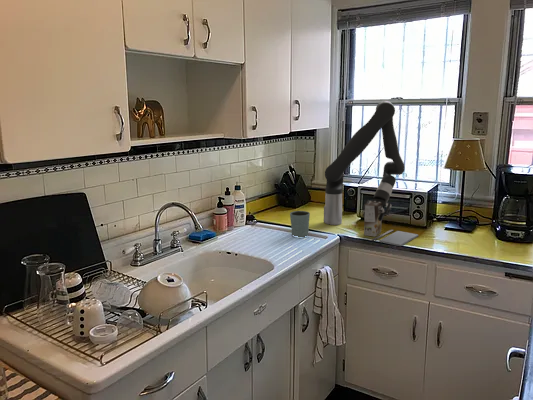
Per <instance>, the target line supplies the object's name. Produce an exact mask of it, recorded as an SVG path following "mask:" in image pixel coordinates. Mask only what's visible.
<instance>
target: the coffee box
mask: <svg viewBox="0 0 533 400" xmlns="http://www.w3.org/2000/svg"><path fill="white" fill-rule="evenodd" d="M370 201H371V202H369V203H367V204H365V218H364V225H363V226H364V227H363V228H364V229H363V231H364V232H363V234H364V235H363V236H368V237H369V236H370V237H374V238H376V237H377V236H379V234H381V233H382V221H383V220H381V221H379V220H378V218H379V216H380V214H381V213H382V212H381V209H380V208H381V205H382V202H381V203H379V202H372V200H370Z"/></svg>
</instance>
